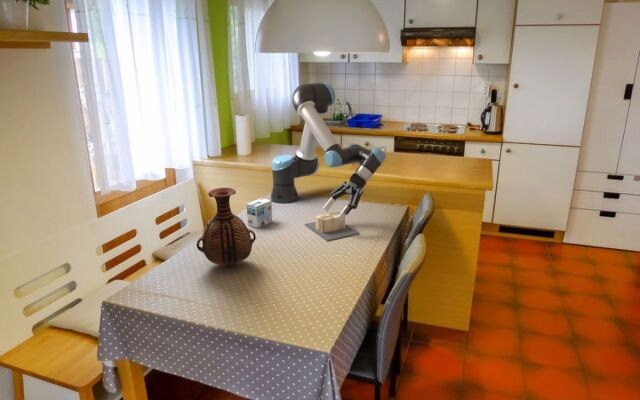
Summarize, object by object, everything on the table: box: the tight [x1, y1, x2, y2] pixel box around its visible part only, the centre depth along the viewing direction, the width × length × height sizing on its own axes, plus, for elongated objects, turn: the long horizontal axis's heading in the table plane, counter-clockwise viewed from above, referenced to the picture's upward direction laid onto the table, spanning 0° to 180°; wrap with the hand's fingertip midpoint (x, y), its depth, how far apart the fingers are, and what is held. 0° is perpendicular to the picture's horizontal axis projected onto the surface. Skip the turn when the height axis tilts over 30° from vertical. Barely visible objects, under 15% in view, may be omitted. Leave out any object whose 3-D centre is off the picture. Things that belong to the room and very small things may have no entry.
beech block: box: [315, 211, 346, 233], centre depth 212 cm, size 6×6×12 cm
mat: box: [304, 221, 360, 242], centre depth 213 cm, size 22×16×1 cm
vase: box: [196, 187, 257, 267], centre depth 176 cm, size 21×18×30 cm
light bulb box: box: [246, 197, 273, 229], centre depth 221 cm, size 11×7×11 cm, turn 143°
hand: (332, 214), depth 212 cm, fingers open, 13 cm apart
